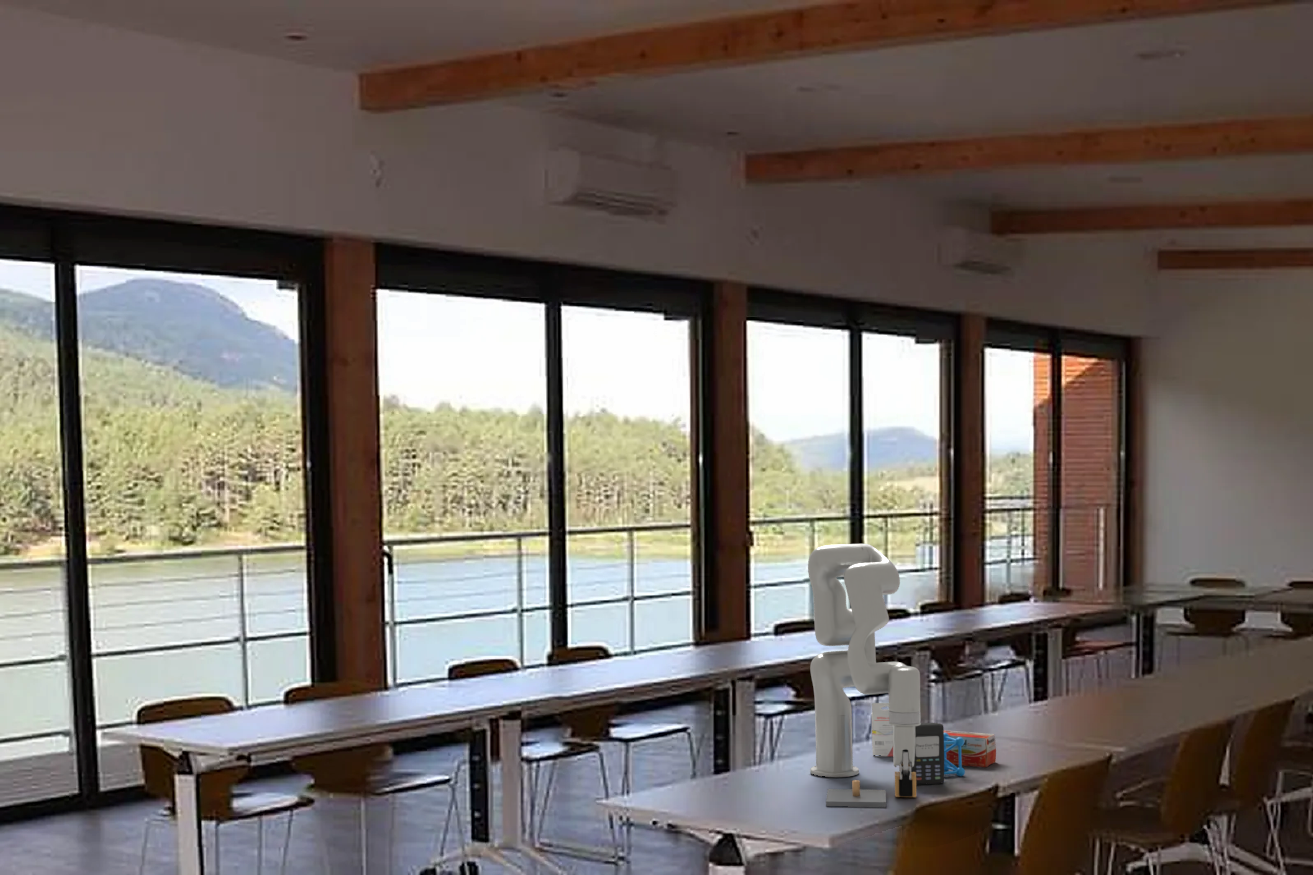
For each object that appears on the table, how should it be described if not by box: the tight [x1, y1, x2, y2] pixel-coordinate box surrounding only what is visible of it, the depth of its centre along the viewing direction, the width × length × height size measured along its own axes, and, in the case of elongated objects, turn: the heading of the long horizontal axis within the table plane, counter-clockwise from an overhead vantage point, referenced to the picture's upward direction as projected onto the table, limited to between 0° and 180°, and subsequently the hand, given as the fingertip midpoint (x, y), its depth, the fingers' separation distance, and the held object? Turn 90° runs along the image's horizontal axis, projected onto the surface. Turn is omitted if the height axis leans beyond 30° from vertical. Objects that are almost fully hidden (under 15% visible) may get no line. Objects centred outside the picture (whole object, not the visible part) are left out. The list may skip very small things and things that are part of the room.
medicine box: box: [944, 729, 997, 768], centre depth 412 cm, size 15×8×8 cm, turn 61°
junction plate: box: [825, 779, 887, 808], centre depth 367 cm, size 14×14×5 cm
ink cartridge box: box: [870, 702, 894, 757], centre depth 425 cm, size 9×5×15 cm, turn 81°
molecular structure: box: [944, 733, 966, 777], centre depth 396 cm, size 10×10×10 cm
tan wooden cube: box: [894, 771, 917, 798], centre depth 370 cm, size 5×5×5 cm
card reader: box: [908, 722, 945, 786], centre depth 385 cm, size 9×4×15 cm, turn 99°
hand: (905, 792), depth 370 cm, fingers closed on tan wooden cube, 5 cm apart
